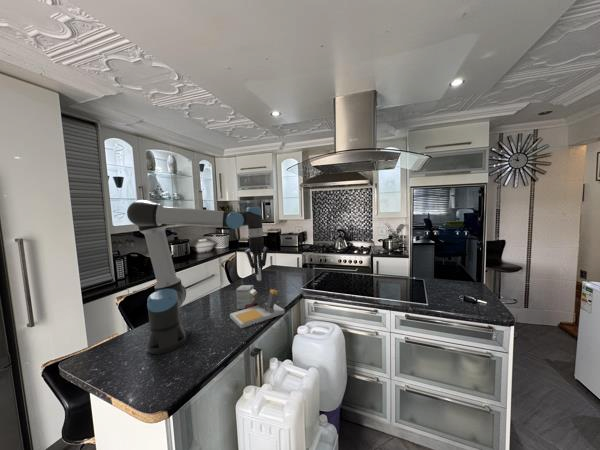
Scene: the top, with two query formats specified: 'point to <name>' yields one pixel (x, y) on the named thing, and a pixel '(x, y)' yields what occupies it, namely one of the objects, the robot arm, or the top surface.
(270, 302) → the tagged breaker
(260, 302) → the plain breaker
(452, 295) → the top surface
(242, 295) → the ink box
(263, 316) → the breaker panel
